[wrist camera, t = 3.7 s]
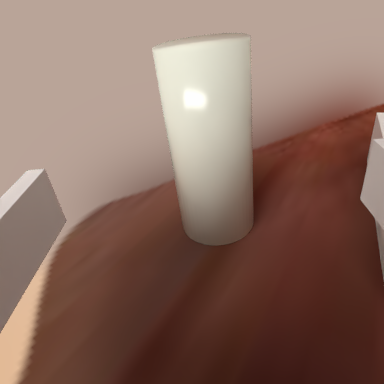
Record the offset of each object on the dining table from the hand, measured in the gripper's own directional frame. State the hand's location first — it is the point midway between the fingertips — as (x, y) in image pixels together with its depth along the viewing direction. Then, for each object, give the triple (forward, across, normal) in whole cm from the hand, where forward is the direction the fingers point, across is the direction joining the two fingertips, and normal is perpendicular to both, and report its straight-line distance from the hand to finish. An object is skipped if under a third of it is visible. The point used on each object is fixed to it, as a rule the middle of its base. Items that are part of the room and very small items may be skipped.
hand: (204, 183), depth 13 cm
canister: (+10, 0, -10) cm, 14 cm away
